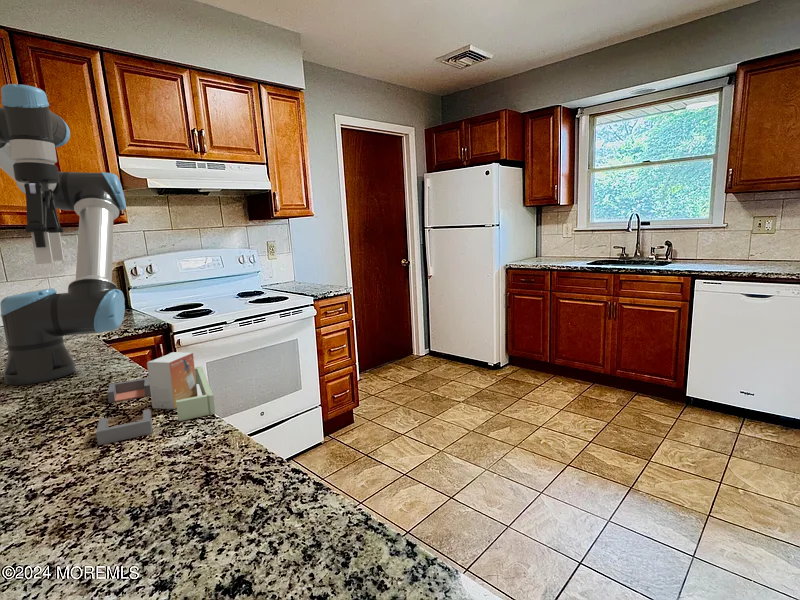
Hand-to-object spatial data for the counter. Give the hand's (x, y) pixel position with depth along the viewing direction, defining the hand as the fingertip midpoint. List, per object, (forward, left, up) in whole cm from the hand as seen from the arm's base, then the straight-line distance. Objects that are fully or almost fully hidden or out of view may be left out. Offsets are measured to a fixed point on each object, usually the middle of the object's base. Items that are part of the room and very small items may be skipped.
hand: (51, 262), depth 97 cm
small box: (+18, +21, -32) cm, 42 cm away
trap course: (+18, +18, -32) cm, 41 cm away
